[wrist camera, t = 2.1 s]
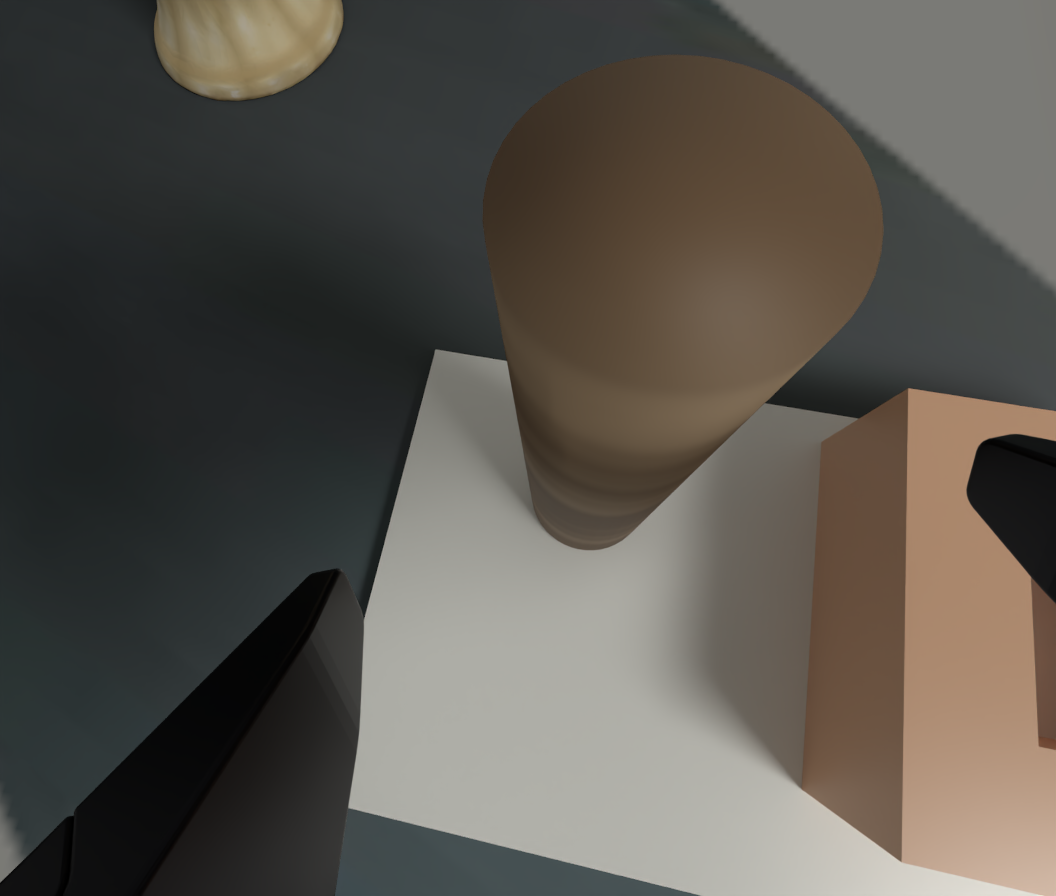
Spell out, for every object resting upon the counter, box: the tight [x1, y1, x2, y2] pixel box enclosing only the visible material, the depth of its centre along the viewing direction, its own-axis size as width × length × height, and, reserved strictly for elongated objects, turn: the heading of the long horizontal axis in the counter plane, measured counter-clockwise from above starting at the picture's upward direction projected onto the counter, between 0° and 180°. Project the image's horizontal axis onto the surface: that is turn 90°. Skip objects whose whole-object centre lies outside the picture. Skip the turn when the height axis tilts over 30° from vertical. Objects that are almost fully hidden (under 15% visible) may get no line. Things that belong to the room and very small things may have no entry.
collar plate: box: [348, 350, 1056, 896], centre depth 14 cm, size 14×24×5 cm, turn 79°
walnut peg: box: [483, 55, 883, 550], centre depth 11 cm, size 4×4×13 cm
